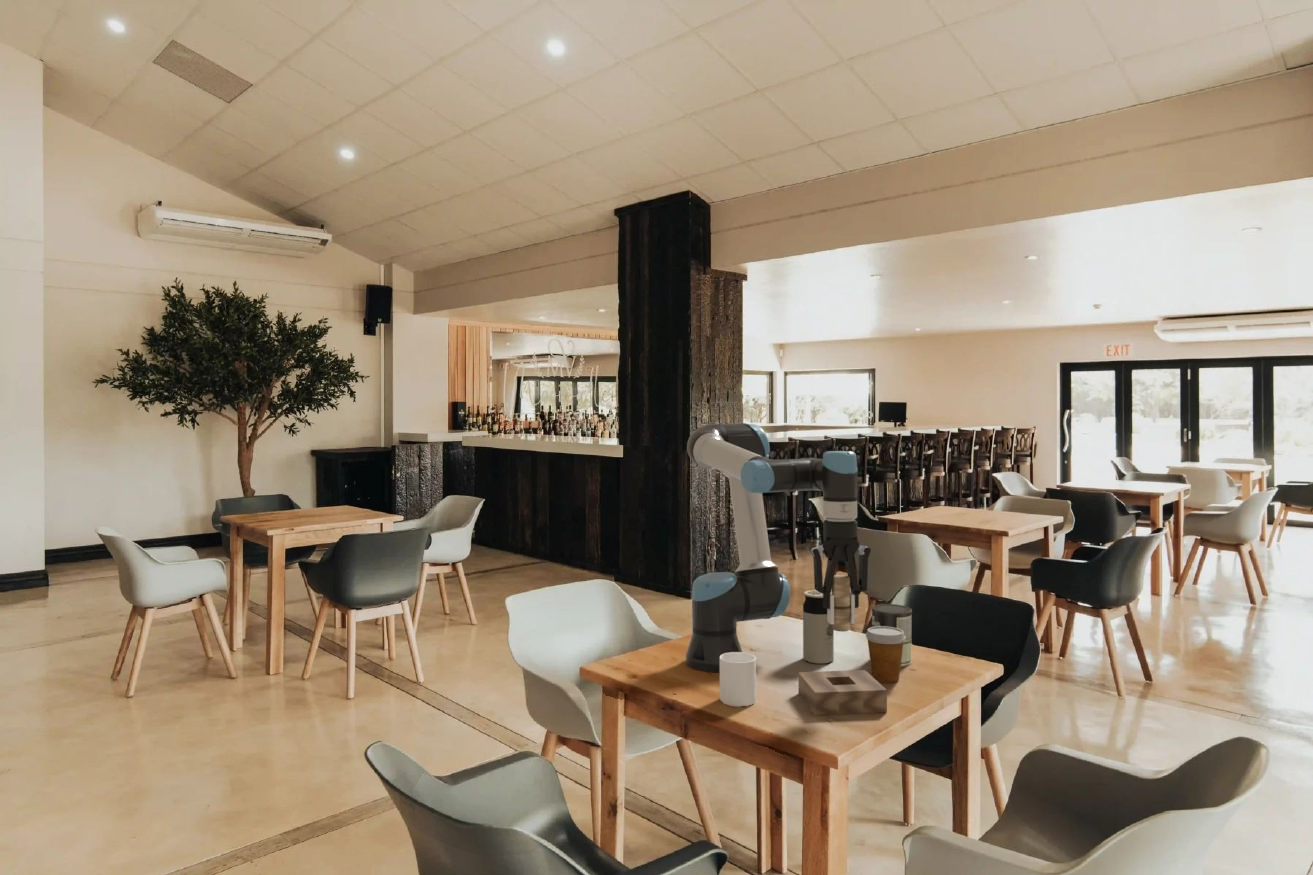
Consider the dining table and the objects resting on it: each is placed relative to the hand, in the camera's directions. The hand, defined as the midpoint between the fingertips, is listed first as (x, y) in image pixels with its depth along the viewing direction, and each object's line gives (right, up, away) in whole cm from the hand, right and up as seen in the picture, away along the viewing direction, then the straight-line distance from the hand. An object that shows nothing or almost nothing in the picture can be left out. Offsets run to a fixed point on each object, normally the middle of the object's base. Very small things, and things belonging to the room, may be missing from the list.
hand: (841, 622), depth 180 cm
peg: (0, -2, 0) cm, 2 cm away
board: (0, -18, +1) cm, 18 cm away
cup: (-22, -19, +4) cm, 29 cm away
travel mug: (+2, -18, +33) cm, 37 cm away
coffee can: (+21, -18, +31) cm, 41 cm away
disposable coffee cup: (+15, -18, +17) cm, 29 cm away
